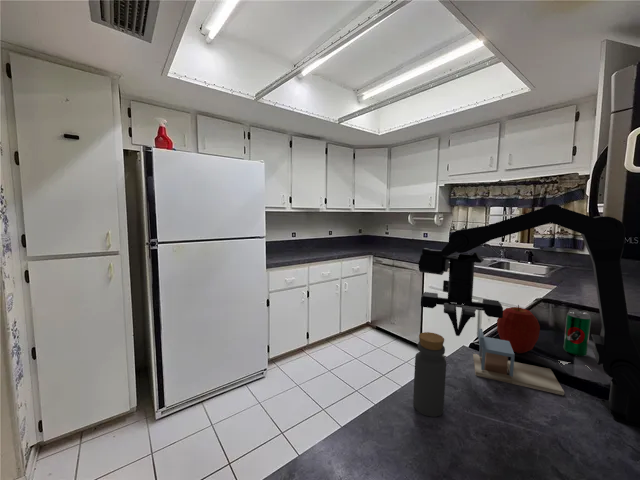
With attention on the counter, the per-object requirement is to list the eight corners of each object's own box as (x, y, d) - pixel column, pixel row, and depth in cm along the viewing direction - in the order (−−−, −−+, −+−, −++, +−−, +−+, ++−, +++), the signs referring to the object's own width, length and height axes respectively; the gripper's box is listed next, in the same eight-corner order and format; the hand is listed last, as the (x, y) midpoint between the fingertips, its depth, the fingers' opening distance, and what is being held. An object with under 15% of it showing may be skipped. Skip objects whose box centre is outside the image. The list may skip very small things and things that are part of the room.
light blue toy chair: (512, 376, 66) (515, 344, 66) (478, 369, 69) (480, 338, 69) (507, 361, 73) (509, 332, 73) (476, 354, 76) (478, 327, 76)
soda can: (591, 358, 78) (596, 316, 77) (570, 356, 79) (574, 314, 78) (578, 349, 83) (583, 310, 81) (559, 347, 84) (563, 308, 82)
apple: (536, 364, 74) (539, 314, 73) (492, 352, 81) (494, 305, 79) (539, 349, 82) (543, 303, 80) (499, 339, 89) (501, 296, 87)
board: (563, 396, 62) (564, 391, 61) (475, 375, 69) (475, 372, 69) (550, 372, 70) (550, 368, 70) (473, 357, 78) (473, 353, 78)
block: (506, 376, 68) (507, 356, 68) (485, 371, 70) (486, 352, 70) (503, 367, 72) (505, 348, 72) (483, 363, 74) (484, 345, 74)
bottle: (407, 401, 59) (410, 333, 58) (429, 395, 61) (432, 329, 60) (426, 420, 54) (430, 345, 52) (450, 413, 56) (454, 341, 54)
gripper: (498, 275, 76) (495, 330, 78) (425, 268, 84) (423, 319, 86) (505, 284, 66) (500, 347, 68) (421, 276, 74) (419, 333, 76)
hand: (457, 335), depth 74 cm, fingers closed
